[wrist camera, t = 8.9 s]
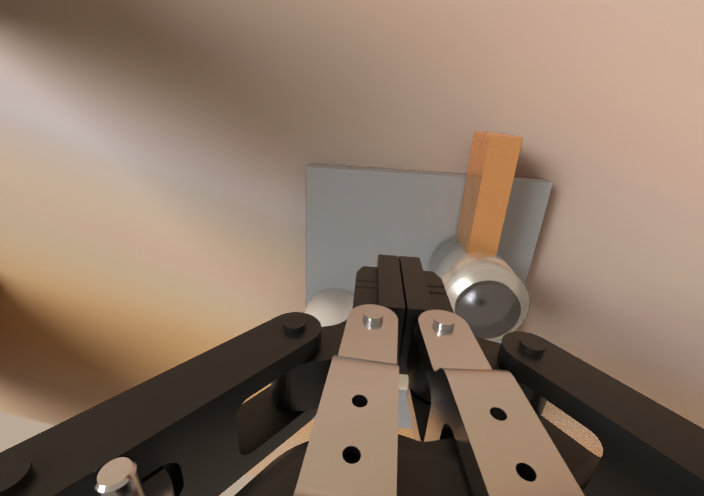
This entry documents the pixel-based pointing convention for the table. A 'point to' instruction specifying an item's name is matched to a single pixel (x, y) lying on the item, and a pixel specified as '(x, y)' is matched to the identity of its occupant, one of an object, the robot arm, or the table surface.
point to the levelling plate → (397, 230)
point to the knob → (484, 243)
